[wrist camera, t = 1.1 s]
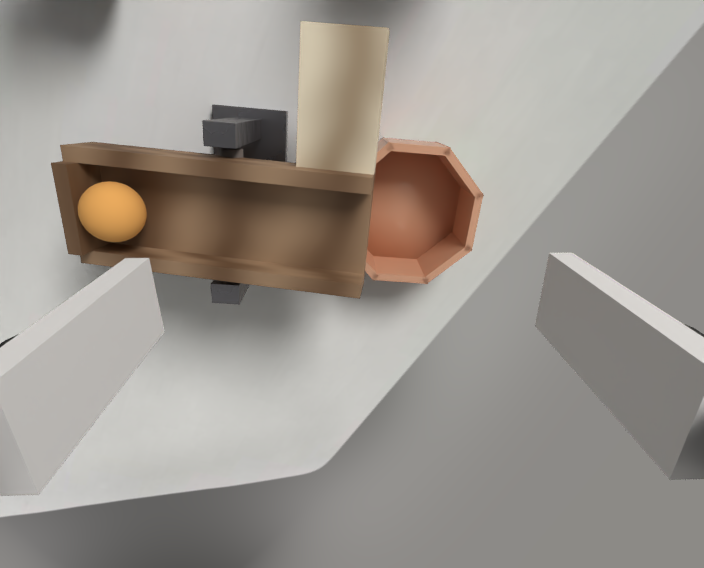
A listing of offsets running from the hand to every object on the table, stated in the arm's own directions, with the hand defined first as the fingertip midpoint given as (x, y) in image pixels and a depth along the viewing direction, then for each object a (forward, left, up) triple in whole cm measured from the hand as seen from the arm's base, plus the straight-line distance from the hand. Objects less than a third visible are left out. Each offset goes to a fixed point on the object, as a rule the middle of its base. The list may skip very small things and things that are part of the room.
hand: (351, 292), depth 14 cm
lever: (-7, -4, -20) cm, 21 cm away
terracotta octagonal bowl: (+5, +2, -25) cm, 26 cm away
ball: (-9, -12, -15) cm, 22 cm away
